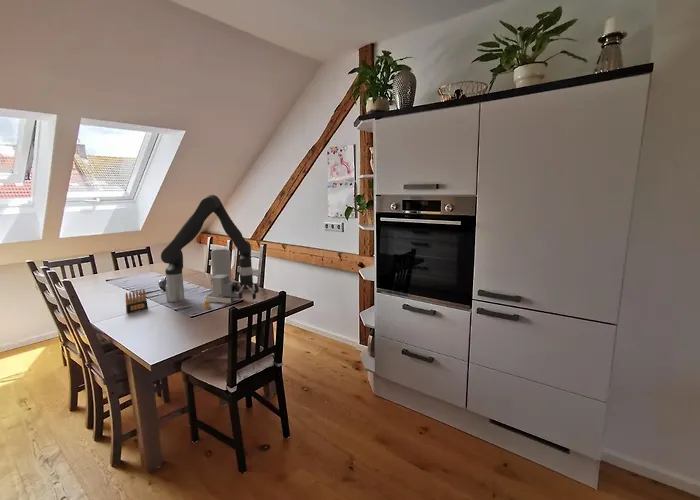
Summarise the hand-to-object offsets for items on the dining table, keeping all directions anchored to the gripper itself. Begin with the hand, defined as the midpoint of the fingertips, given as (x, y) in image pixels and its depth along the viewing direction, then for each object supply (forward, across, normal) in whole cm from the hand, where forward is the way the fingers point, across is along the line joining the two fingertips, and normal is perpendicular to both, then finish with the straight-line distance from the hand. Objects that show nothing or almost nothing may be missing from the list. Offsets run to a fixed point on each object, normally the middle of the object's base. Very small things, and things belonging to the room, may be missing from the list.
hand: (247, 298), depth 222 cm
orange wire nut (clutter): (+1, -18, -15) cm, 24 cm away
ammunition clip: (+1, -54, -27) cm, 61 cm away
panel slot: (+1, -15, 0) cm, 15 cm away
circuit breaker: (+1, -14, 0) cm, 14 cm away
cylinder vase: (+1, -31, +27) cm, 41 cm away
